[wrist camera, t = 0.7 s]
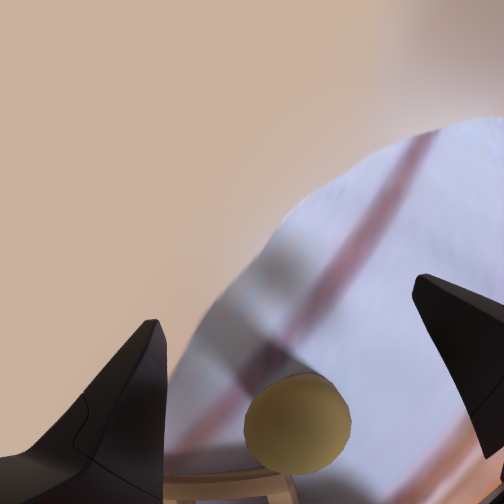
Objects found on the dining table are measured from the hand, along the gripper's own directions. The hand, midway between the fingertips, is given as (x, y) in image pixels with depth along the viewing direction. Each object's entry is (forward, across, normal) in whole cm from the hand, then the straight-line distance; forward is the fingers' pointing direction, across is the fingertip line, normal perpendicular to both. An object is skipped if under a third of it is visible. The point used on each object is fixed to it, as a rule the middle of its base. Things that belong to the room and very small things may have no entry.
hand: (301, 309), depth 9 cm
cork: (+4, -2, +15) cm, 16 cm away
